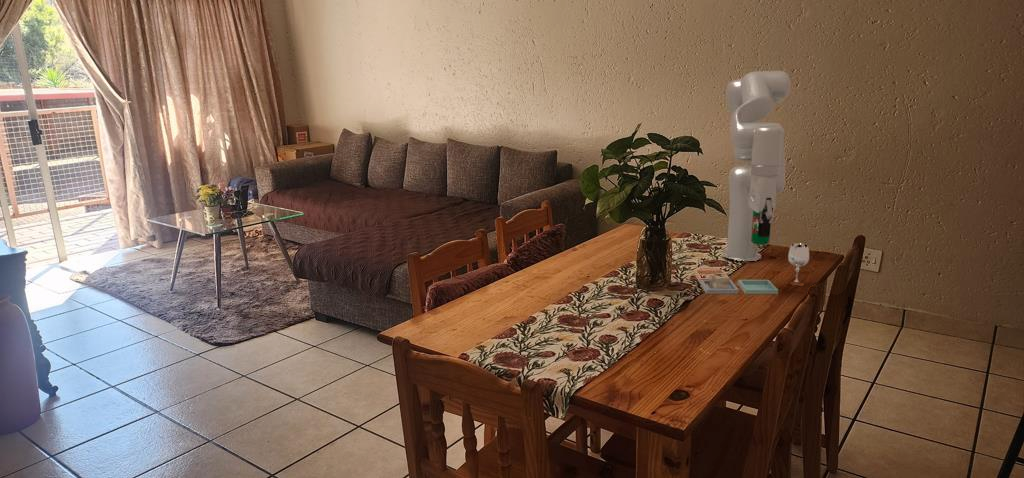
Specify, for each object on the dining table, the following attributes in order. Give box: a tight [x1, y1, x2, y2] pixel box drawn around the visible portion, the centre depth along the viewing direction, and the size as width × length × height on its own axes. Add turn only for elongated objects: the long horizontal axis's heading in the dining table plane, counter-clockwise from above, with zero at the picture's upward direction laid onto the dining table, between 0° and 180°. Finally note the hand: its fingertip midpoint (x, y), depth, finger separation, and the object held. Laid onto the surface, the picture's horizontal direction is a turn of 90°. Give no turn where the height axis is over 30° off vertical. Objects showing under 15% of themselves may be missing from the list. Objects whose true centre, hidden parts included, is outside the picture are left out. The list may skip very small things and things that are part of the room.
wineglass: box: [787, 242, 810, 282], centre depth 196 cm, size 6×6×12 cm
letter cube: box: [709, 273, 730, 289], centre depth 193 cm, size 4×4×4 cm
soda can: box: [751, 210, 772, 246], centre depth 188 cm, size 5×5×12 cm
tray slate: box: [699, 279, 739, 295], centre depth 193 cm, size 9×9×2 cm
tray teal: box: [737, 279, 779, 295], centre depth 192 cm, size 9×9×2 cm
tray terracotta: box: [693, 269, 731, 284], centre depth 203 cm, size 9×9×2 cm
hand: (760, 233), depth 189 cm, fingers closed on soda can, 5 cm apart
